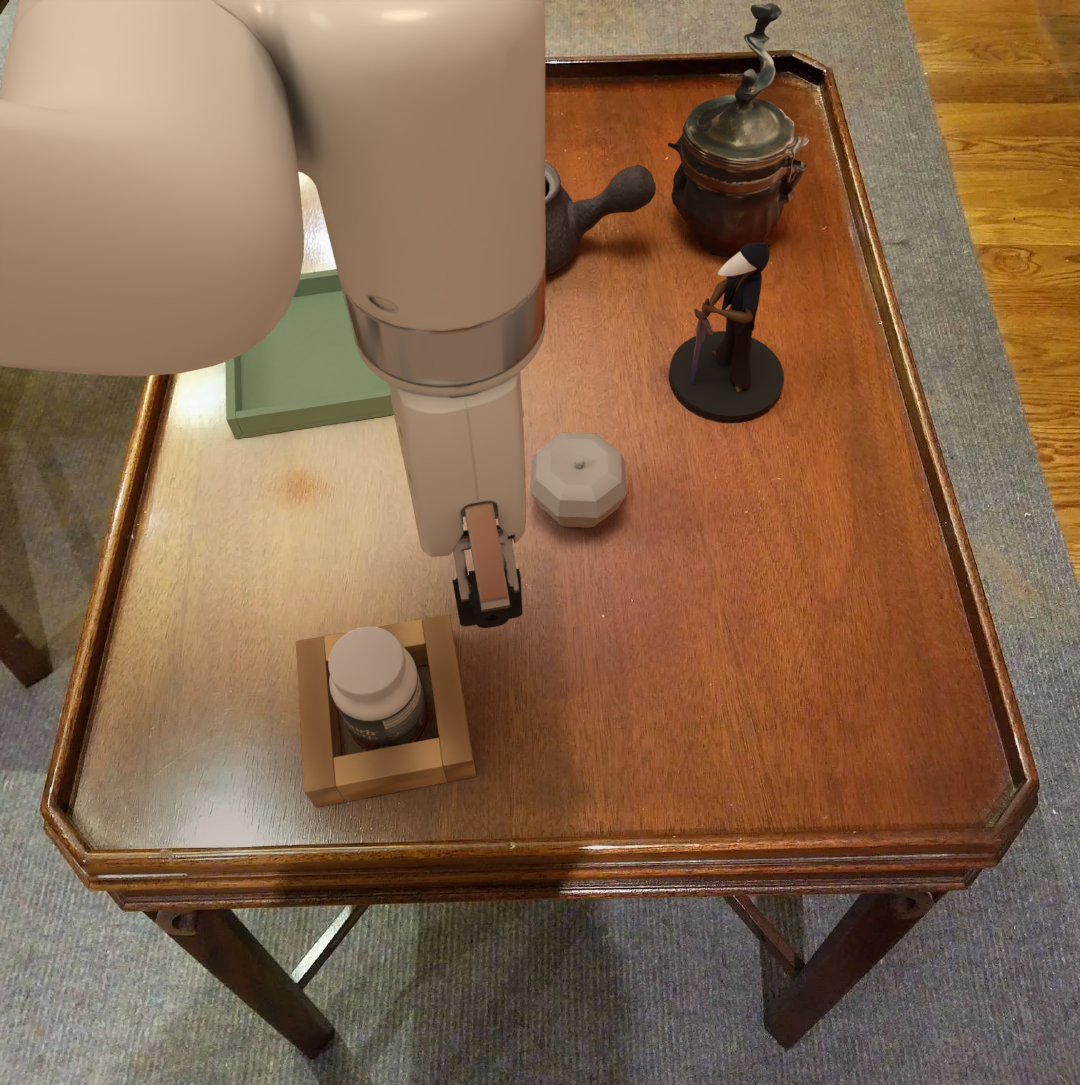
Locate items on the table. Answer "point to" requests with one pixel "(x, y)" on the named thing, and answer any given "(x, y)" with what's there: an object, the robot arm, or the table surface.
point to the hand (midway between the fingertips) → (476, 538)
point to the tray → (304, 369)
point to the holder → (390, 766)
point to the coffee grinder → (738, 158)
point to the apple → (578, 479)
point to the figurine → (729, 350)
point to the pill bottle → (376, 688)
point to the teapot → (588, 210)
